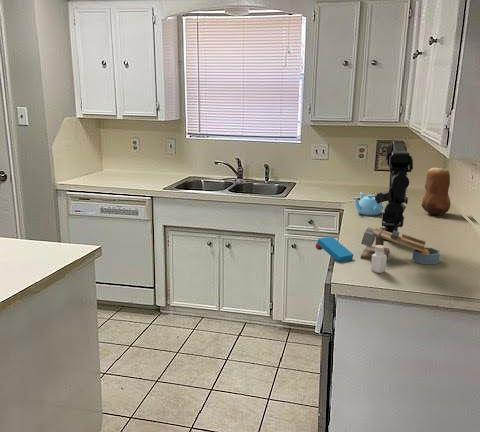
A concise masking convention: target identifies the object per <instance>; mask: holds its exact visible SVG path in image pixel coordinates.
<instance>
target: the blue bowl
mask: <svg viewBox="0 0 480 432" xmlns="http://www.w3.org/2000/svg"><path fill="white" fill-rule="evenodd" d="M424 248H425V249H427V250H428V251H429V254H422V253H419V250H416V249H413V252H412V259H411V260H412V261H413V262H415V263H418V264H422V265H437V264H439V263H440V253H441V252H440V249H436V248H433V247H427V246H426V247H425V246H424Z"/></svg>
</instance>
